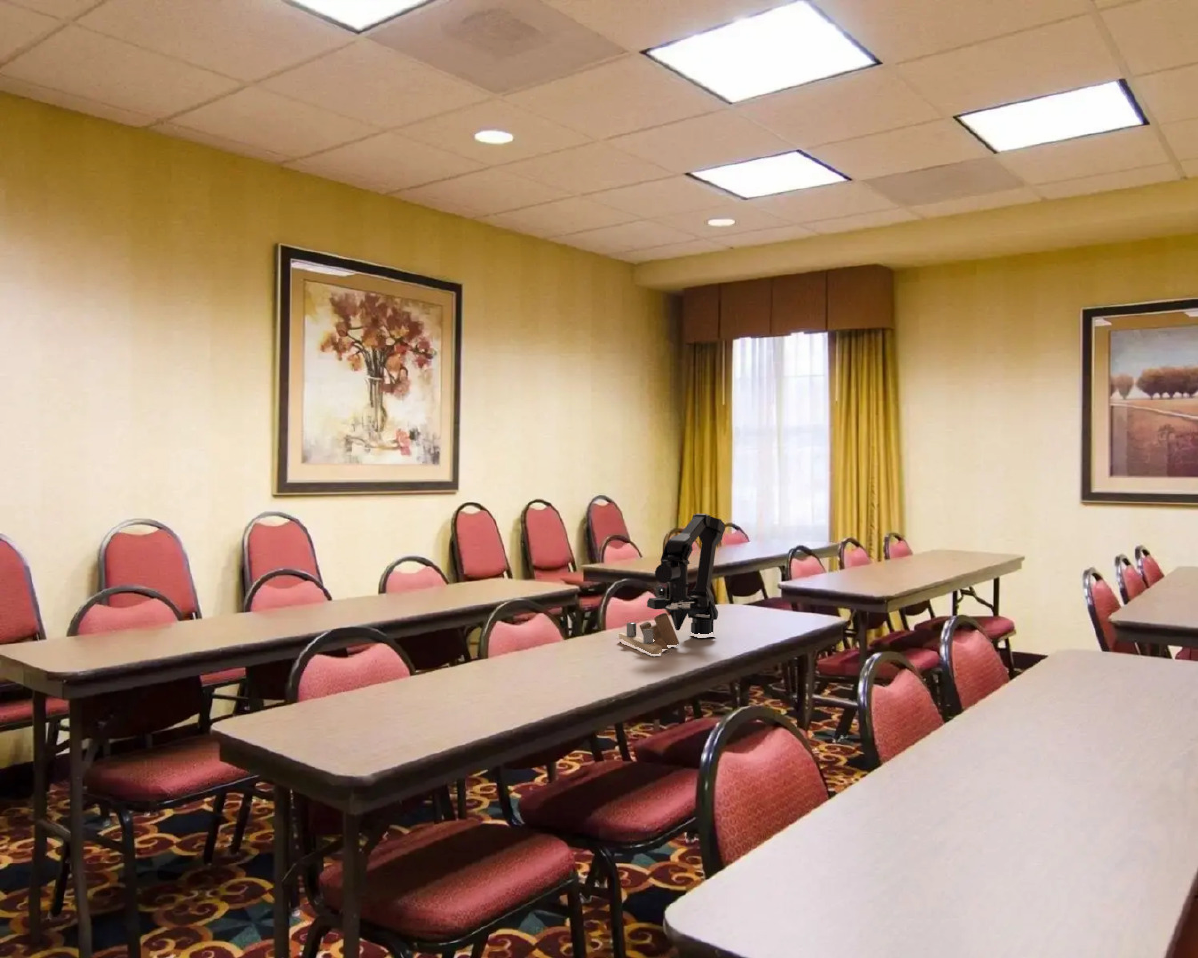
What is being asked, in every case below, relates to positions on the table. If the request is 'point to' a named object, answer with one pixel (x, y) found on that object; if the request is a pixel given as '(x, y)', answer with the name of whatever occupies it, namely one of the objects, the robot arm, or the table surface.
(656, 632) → the wooden block set
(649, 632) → the steel bench dogs
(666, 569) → the robot arm
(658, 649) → the maple stop rail
